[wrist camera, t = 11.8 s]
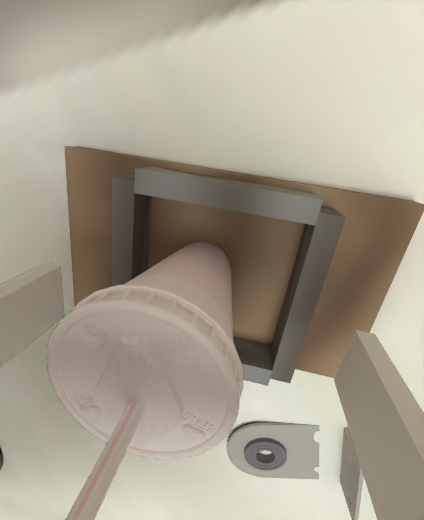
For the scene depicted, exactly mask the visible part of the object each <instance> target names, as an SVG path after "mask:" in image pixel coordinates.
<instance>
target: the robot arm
mask: <svg viewBox="0 0 424 520" xmlns="http://www.w3.org/2000/svg"><path fill="white" fill-rule="evenodd" d="M63 317H64V304H63V292H62V280H61V267H60V266H59V265H54V264H49V263H43V264H41V265H39V266H37V267H35V268H33V269H31V270H29V271H27V272H25V273H23V274H21V275H19V276H17V277H15V278H13V279H11V280H9V281H7V282H5V283H3V284H1V285H0V368H1V367H2V366H3V365H5V364H6V363H7V362H8V361H10V360H11V359H12V358H13V357H14V356H16V355H17V354H18V353H19V352H21V351H22V350H23V349H24V348H26V347H27V346H28V345H29V344H31V343H32V342H33V341H34V340H35V339H37V338H38V337H39V336H40V335H42V334H43V333H44V332H45V331H47V330H48V329H49V328H50V327H51V326H53V325H54V324H55V323H56V322H58V321H59V320H60V319H61V318H63ZM334 381H335V385H336V388H337V391H338V394H339V398H340V401H341V404H342V407H343V410H344V414H345V417H346V420H347V423H348V426H349V430H350V433H351V436H352V439H353V442H354V446H355V449H356V452H357V455H358V459H359V462H360V465H361V468H362V471H363V475H364V478H365V481H366V484H367V487H368V491H369V494H370V497H371V500H372V504H373V507H374V510H375V513H376V516H377V520H424V413H423V411H422V409H421V408H420V406H419V405H418V403H417V401H416V400H415V398H414V396H413V395H412V393H411V392H410V390H409V388H408V387H407V385H406V384H405V382H404V380H403V379H402V377H401V375H400V374H399V372H398V371H397V369H396V367H395V366H394V364H393V362H392V361H391V359H390V358H389V356H388V354H387V353H386V351H385V350H384V348H383V346H382V345H381V343H380V341H379V340H378V338H377V337H376V335H375V334H372V333H368V332H363V331H359V330H355V332H354V334H353V337H352V339H351V341H350V344H349V346H348V348H347V351H346V353H345V356H344V358H343V360H342V363H341V365H340V367H339V370H338V372H337V375H336V377H335V379H334ZM1 465H2V458H1V454H0V469H1Z"/></svg>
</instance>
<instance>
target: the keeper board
mask: <svg viewBox="0 0 424 520" xmlns="http://www.w3.org/2000/svg"><path fill="white" fill-rule="evenodd" d="M65 159H66V175H67V191H68V206H69V222H70V238H71V254H72V269H73V285H74V301H75V307H76V305H77V304H78V303H79V302H80V301H82V300H83V299H85V298H86V297H88V296H89V295H91V294H92V293H94V292H95V291H98V290H102V289H105V288H109V287H113V286H116V285H124V284H125V283H127V282H129V281H130V280H132V279H134V278H135V277H137V276H139V275H140V274H142V273H143V272H145V271H147V270H148V269H150V268H151V267H153V266H154V265H156V264H158V263H159V262H161V261H162V260H164V259H166V258H167V257H169V256H170V255H172V254H173V253H175V252H177V251H178V250H180V249H181V248H183V247H185V246H186V245H188V244H190V243H194V242H207V243H210V244H213V245H215V246H217V247H218V248H220V249H221V250H222V251H223V252H224V253H225V254H226V256H227V258H228V259H229V262H230V265H231V285H232V326H233V343H234V345H235V348H236V351H237V353H238V356H239V359H240V361H241V364H242V373H243V380H247V381H251V382H255V383H259V384H263V385H267V386H268V383H269V380H270V378H271V379H275V380H279V381H283V382H287V383H290V382H291V379H292V376H293V373H294V370H295V369H298V370H302V371H307V372H311V373H315V374H319V375H323V376H328V377H332V378H335V377H336V375H337V372H338V370H339V367H340V365H341V363H342V360H343V358H344V356H345V353H346V351H347V348H348V346H349V344H350V341H351V339H352V337H353V334H354V332H355V330H359V331H363V332H368V333H369V332H370V330H371V328H372V325H373V323H374V321H375V319H376V316H377V314H378V312H379V310H380V308H381V305H382V303H383V301H384V299H385V296H386V294H387V292H388V290H389V287H390V285H391V283H392V281H393V278H394V276H395V274H396V272H397V269H398V267H399V265H400V263H401V261H402V258H403V256H404V254H405V252H406V249H407V247H408V245H409V243H410V240H411V238H412V236H413V234H414V231H415V229H416V227H417V225H418V222H419V220H420V218H421V216H422V214H423V211H424V204H421V203H417V202H414V201H408V200H402V199H396V198H390V197H383V196H377V195H371V194H365V193H359V192H353V191H347V190H340V189H334V188H328V187H322V186H316V185H310V184H304V183H297V182H291V181H285V180H279V179H273V178H267V177H261V176H254V175H248V174H242V173H236V172H230V171H224V170H218V169H211V168H205V167H199V166H193V165H187V164H181V163H174V162H168V161H162V160H156V159H150V158H144V157H138V156H131V155H125V154H119V153H113V152H107V151H101V150H95V149H88V148H82V147H72V146H65Z"/></svg>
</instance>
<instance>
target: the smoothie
mask: <svg viewBox="0 0 424 520" xmlns="http://www.w3.org/2000/svg"><path fill="white" fill-rule="evenodd" d="M46 360H47V369H48V375H49V378H50V381H51V384H52V387H53V389H54V391H55V393H56V395H57V396H58V398H59V400H60V402H61V403H62V405H63V406H64V407H65V408H66V410H67V411H68V412H69V414H70V415H71V416H72V417H73V418H74V419H75V420H76V421H77V422H78V423H79V424H80V425H81V426H82V427H84V428H85V429H86V430H88V431H89V432H90V433H92V434H93V435H94V436H96V437H97V438H99V439H101V440H102V441H104V442H106V443H107V444H106V446H105V448H104V450H103V451H102V453H101V455H100V457H99V459H98V461H97V462H96V464H95V466H94V468H93V470H92V472H91V474H90V475H89V477H88V479H87V481H86V483H85V485H84V486H83V488H82V490H81V492H80V494H79V496H78V497H77V499H76V501H75V503H74V505H73V507H72V509H71V510H70V512H69V514H68V516H67V518H66V520H94V519H95V517H96V515H97V512H98V510H99V508H100V506H101V504H102V502H103V499H104V497H105V495H106V493H107V491H108V489H109V487H110V484H111V482H112V480H113V478H114V476H115V474H116V471H117V469H118V467H119V465H120V463H121V461H122V459H123V456H124V454H125V452H128V453H132V454H135V455H138V456H142V457H148V458H154V459H180V458H188V457H192V456H195V455H198V454H201V453H204V452H206V451H208V450H210V449H212V448H213V447H215V446H216V445H218V444H219V443H220V442H221V441H222V440H223V439H224V438H225V437H226V436H227V435H228V434H229V432H230V431H231V429H232V427H233V426H234V424H235V421H236V418H237V415H238V410H239V399H240V396H241V392H242V389H243V373H242V364H241V361H240V359H239V356H238V353H237V351H236V348H235V345H234V343H233V326H232V285H231V265H230V262H229V259H228V258H227V256H226V254H225V253H224V252H223V251H222V250H221V249H220V248H218V247H217V246H215V245H213V244H210V243H207V242H194V243H190V244H188V245H186V246H185V247H183V248H181V249H180V250H178V251H177V252H175V253H173V254H172V255H170V256H169V257H167V258H166V259H164V260H162V261H161V262H159V263H158V264H156V265H154V266H153V267H151V268H150V269H148V270H147V271H145V272H143V273H142V274H140V275H139V276H137V277H135V278H134V279H132V280H130V281H129V282H127V283H125V284H124V285H116V286H113V287H109V288H105V289H102V290H98V291H95V292H94V293H92V294H91V295H89V296H88V297H86V298H85V299H83V300H82V301H80V302H79V303H78V304H77V305H76V307H75V308H74V309H73V311H72V312H70V313H69V314H68V315H67V316H66V317H64V318H63V319H62V320H61V321H60V322H59V323H58V325H57V326H56V328H55V329H54V331H53V333H52V335H51V337H50V339H49V342H48V347H47V355H46Z"/></svg>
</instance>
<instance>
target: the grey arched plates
mask: <svg viewBox="0 0 424 520" xmlns="http://www.w3.org/2000/svg"><path fill="white" fill-rule="evenodd" d="M316 431H319V425H306V424H293V423H275V422H262V423H252V424H248V425H245V426H243V427H241V428H239V429H238V430H236V431H235V432H234V433H233V434H232V435H231V437H230V438H229V440H228V445H227V452H228V456H229V458H230V460H231V462H232V463H233V464H234V465H235V466H236V467H237V468H239V469H240V470H242V471H243V472H245V473H248V474H250V475H254V476H258V477H266V478H297V479H319V473H317V472H315V471H314V468H315V467H319V443H317V442H315V441H314V433H315V432H316ZM263 450H267V451H270V452H272V454H269V455H264V454H261V453H259V451H263ZM340 477H341V481H340V483H341V486H342V489H343V492H344V496H345V499H346V502H347V505H348V508H349V512H350V515H351V518H352V520H358V516H359V508H360V500H361V491H362V483H363V471H362V468H361V465H360V462H359V459H358V455H357V452H356V449H355V446H354V442H353V439H352V437H351V434H350V432H349V429H348V428H345V430H344V436H343V449H342V462H341V474H340ZM350 496H351V498H350Z"/></svg>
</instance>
